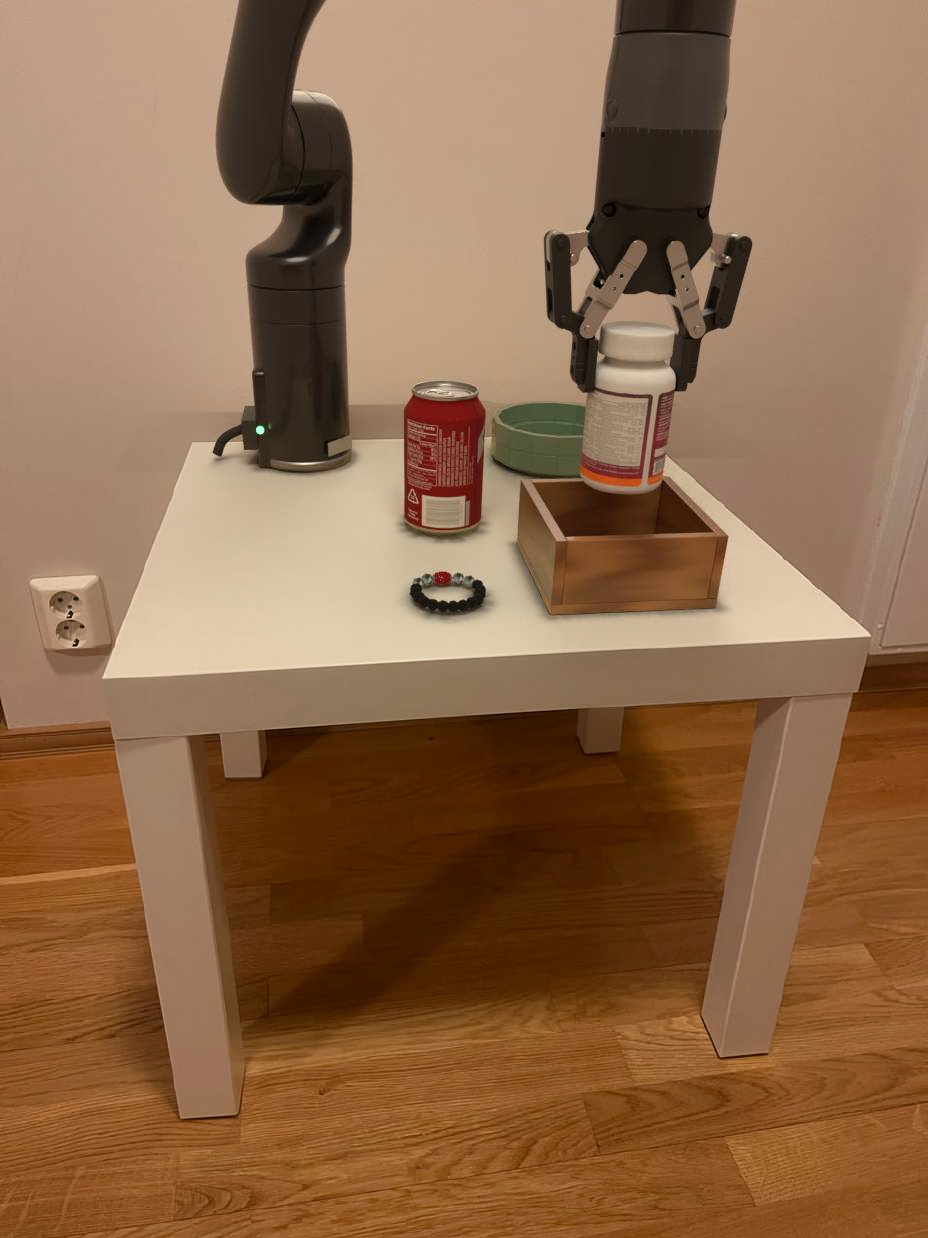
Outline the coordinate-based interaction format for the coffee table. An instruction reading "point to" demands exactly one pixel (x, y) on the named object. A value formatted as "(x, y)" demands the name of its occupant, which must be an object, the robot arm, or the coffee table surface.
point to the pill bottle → (629, 409)
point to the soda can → (443, 457)
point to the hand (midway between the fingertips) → (630, 388)
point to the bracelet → (447, 578)
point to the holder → (618, 548)
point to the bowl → (540, 438)
